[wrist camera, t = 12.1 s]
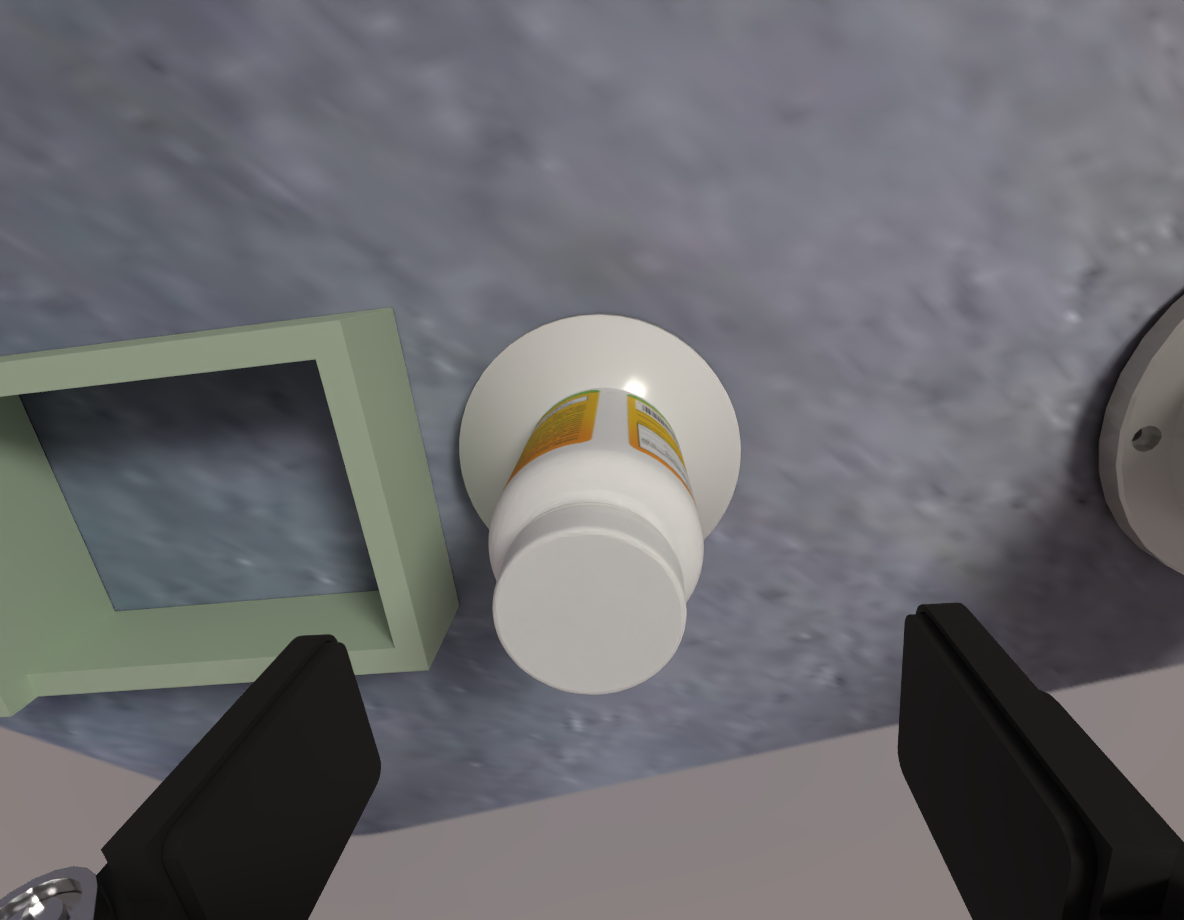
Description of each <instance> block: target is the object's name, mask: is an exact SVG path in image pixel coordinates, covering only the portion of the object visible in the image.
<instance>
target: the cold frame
mask: <svg viewBox="0 0 1184 920" xmlns="http://www.w3.org/2000/svg"><path fill="white" fill-rule="evenodd" d="M314 359H316V362H317V366H318V369H319V373H320V377H321V380H322V384H323V388H324V391H325V395H326V398H327V402H328V406H329V409H330V413H331V417H332V420H333V424H334V428H335V431H336V435H337V439H338V442H339V446H340V450H341V453H342V457H343V461H344V464H345V468H346V472H347V475H348V479H349V482H350V486H351V490H352V493H353V497H354V501H355V504H356V508H357V512H358V515H359V519H360V523H361V526H362V530H363V534H364V537H365V541H366V545H367V548H368V552H369V555H370V559H371V563H372V566H373V570H374V574H375V577H376V581H377V585H378V588H379V590H378V591H365V592H353V593H340V594H328V595H316V596H303V597H291V598H278V599H266V600H254V601H241V602H229V603H216V604H204V605H191V606H179V607H167V608H154V609H142V610H129V611H117V612H115V611H114V608H113V606H112V604H111V602H110V599H109V597H108V595H107V593H106V590H105V588H104V586H103V584H102V581H101V579H100V577H99V575H98V572H97V570H96V568H95V566H94V563H93V561H92V559H91V557H90V554H89V552H88V550H87V548H86V545H85V543H84V541H83V539H82V536H81V534H80V532H79V530H78V528H77V525H76V523H75V521H74V519H73V516H72V514H71V512H70V510H69V507H68V505H67V503H66V501H65V498H64V496H63V494H62V492H61V489H60V487H59V485H58V483H57V480H56V478H55V476H54V474H53V471H52V469H51V467H50V465H49V462H48V460H47V458H46V456H45V453H44V451H43V449H42V447H41V444H40V442H39V440H38V438H37V435H36V433H35V431H34V429H33V426H32V424H31V422H30V420H29V418H28V415H27V413H26V411H25V409H24V406H23V404H22V402H21V400H20V397H19V394H27V393H35V392H44V391H52V390H61V389H69V388H78V387H86V386H94V385H103V384H111V383H120V382H128V381H137V380H145V379H154V378H162V377H170V376H179V375H187V374H196V373H204V372H213V371H221V370H229V369H238V368H246V367H255V366H263V365H272V364H280V363H288V362H297V361H305V360H314ZM458 607H459V601H458V597H457V593H456V588H455V584H454V579H453V575H452V570H451V566H450V562H449V557H448V553H447V548H446V544H445V539H444V535H443V531H442V526H441V522H440V517H439V513H438V508H437V504H436V500H435V495H434V491H433V486H432V482H431V477H430V473H429V469H428V464H427V460H426V455H425V451H424V446H423V442H422V437H421V433H420V429H419V424H418V420H417V415H416V411H415V406H414V402H413V398H412V393H411V389H410V384H409V380H408V375H407V371H406V367H405V362H404V358H403V353H402V349H401V344H400V340H399V336H398V331H397V327H396V322H395V318H394V313H393V309H392V307H390V308H382V309H374V310H366V311H358V312H350V313H342V314H334V315H326V316H318V317H311V318H303V319H295V320H287V321H279V322H271V323H263V324H255V325H247V326H239V327H231V328H223V329H215V330H207V331H199V332H191V333H183V334H175V335H167V336H159V337H151V338H143V339H135V340H127V341H119V342H111V343H103V344H95V345H87V346H79V347H71V348H63V349H55V350H47V351H39V352H31V353H23V354H15V355H8V356H0V717H10V716H13V715H14V714H16V713H17V712H18V711H20V710H21V709H22V708H24V707H25V706H26V705H27V704H29V703H30V702H31V701H33V700H34V699H35V698H37V697H38V696H52V695H67V694H82V693H97V692H112V691H127V690H142V689H157V688H171V687H186V686H201V685H216V684H231V683H246V682H254V681H255V680H256V679H257V678H258V677H259V676H260V675H261V674H262V673H263V672H264V671H265V669H266V668H267V667H268V666H269V665H270V664H271V663H272V662H273V661H274V660H275V658H276V657H277V656H278V655H279V654H280V653H281V652H282V651H283V650H284V649H285V648H286V646H287V645H288V644H289V643H290V642H291V641H292V640H293V639H294V638H296V637H298V636H301V635H321V634H330V635H333V636H334V637H335V638H336V639H337V641H338V642H341V643H343V644H344V645H345V646H346V649H347V652H348V655H349V658H350V661H351V665H352V668H353V671H354V675H365V674H380V673H394V672H409V671H424V670H429V669H430V667H431V665H432V663H433V661H434V659H435V656H436V654H437V652H438V650H439V648H440V646H441V644H442V642H443V639H444V637H445V635H446V633H447V631H448V629H449V627H450V624H451V622H452V620H453V618H454V616H455V614H456V612H457V610H458Z"/></svg>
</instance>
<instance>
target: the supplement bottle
mask: <svg viewBox="0 0 1184 920" xmlns="http://www.w3.org/2000/svg"><path fill="white" fill-rule="evenodd" d="M488 546H489V557H490V562H491V567H492V570H493V573H494V576H495V579H496V581H497V583H496V586H495V589H494V594H493V603H492V611H493V620H494V626H495V629H496V632H497V635H498V637H499V640H500V642H501V644H502V645H503V647H504V649H505V651H506V652H507V653H508V655H509V656H510V657H511V659H512V660H513V661H514V662H515V663H516V664H517V665H518V666H519V667H520V668H521V669H523V670H524V671H525V672H526V673H527V674H529V675H530V676H532V677H533V678H535V679H536V680H538V681H540V682H542V683H544V684H546V685H549V686H551V687H554V688H556V689H559V690H562V691H567V692H571V693H576V694H590V695H595V694H607V693H613V692H618V691H622V690H626V689H628V688H631V687H634V686H636V685H638V684H640V683H642V682H644V681H646V680H647V679H649V678H650V677H652V676H653V675H655V674H656V673H657V672H658V671H659V670H661V669H662V668H663V667H664V666H665V665H666V664H667V663H668V661H669V660H670V659H671V658H672V656H673V655H674V653H675V651H676V650H677V648H678V646H679V644H680V642H681V639H682V637H683V634H684V629H685V625H686V615H687V612H686V602H687V601H688V599H689V598H690V596H691V594H692V593H693V590H694V588H695V586H696V584H697V582H698V579H699V576H700V573H701V568H702V563H703V552H704V543H703V534H702V528H701V522H700V518H699V514H698V510H697V506H696V503H695V500H694V496H693V493H692V489H691V485H690V481H689V478H688V474H687V471H686V467H685V464H684V460H683V457H682V453H681V449H680V446H679V443H678V440H677V438H676V435H675V433H674V431H673V429H672V427H671V425H670V424H669V422H668V421H667V419H666V418H665V417H664V415H663V414H662V413H661V412H660V411H659V410H658V409H657V408H656V407H655V406H653V405H652V404H651V403H650V402H648V401H647V400H645V399H643V398H642V397H640V396H638V395H636V394H633V393H631V392H628V391H625V390H620V389H615V388H592V389H587V390H583V391H579V392H576V393H574V394H571V395H569V396H567V397H565V398H563V399H562V400H560V401H558V402H557V403H556V404H554V405H553V406H552V407H551V408H550V409H549V410H548V411H547V412H546V413H545V414H544V415H543V416H542V418H541V419H540V420H539V422H538V423H537V425H536V426H535V428H534V430H533V432H532V434H531V436H530V437H529V440H528V442H527V444H526V446H525V448H524V450H523V452H522V454H521V456H520V458H519V460H518V462H517V464H516V466H515V468H514V470H513V472H512V474H511V476H510V478H509V480H508V482H507V483H506V485H505V487H504V489H503V491H502V494H501V496H500V498H499V500H498V502H497V505H496V508H495V511H494V513H493V516H492V520H491V524H490V530H489V542H488Z"/></svg>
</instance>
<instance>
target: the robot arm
mask: <svg viewBox="0 0 1184 920" xmlns="http://www.w3.org/2000/svg"><path fill="white" fill-rule="evenodd" d="M1099 476H1100V480H1101V484H1102V488H1103V492H1104V496H1105V501H1106V503H1107V505H1108V507H1109V509H1110V511H1111V512H1112V514H1113V516H1114V518H1115V520H1116V522H1117V524H1118V526H1119V527H1120V528H1121V529H1122V530H1123V531H1124V532H1125V534H1126V535H1127V536H1128V537H1129V538H1130V539H1131V540H1132V541H1133V542H1134V543H1135V544H1136V545H1137V547H1139V548H1140V549H1142V550H1143V551H1145V552H1146V553H1148V554H1149V555H1151V556H1152V557H1154V558H1155V559H1157V560H1158V561H1160V562H1161V563H1163V564H1165V565H1166V566H1168V567H1170V568H1172V569H1174V570H1175V571H1177V572H1179V573H1181V574H1183V575H1184V295H1183V296H1181V297H1180V298H1179V299H1178V300H1177V301H1176V302H1175V303H1173V304H1172V305H1171V306H1170V308H1169V309H1168V310H1167V311H1166V312H1165V313H1164V314H1163V316H1162V317H1161V318H1160V319H1159V320H1158V321H1157V323H1156V324H1155V325H1154V326H1153V327H1152V328H1151V329H1150V331H1149V332H1148V333H1147V334H1146V335H1145V336H1144V337H1143V339H1142V340H1141V342H1140V344H1139V345H1138V347H1137V348H1136V350H1135V351H1134V353H1133V355H1132V356H1131V358H1130V359H1129V361H1128V363H1127V364H1126V366H1125V367H1124V369H1123V370H1122V372H1121V374H1120V376H1119V379H1118V381H1117V383H1116V386H1115V388H1114V391H1113V393H1112V395H1111V398H1110V400H1109V402H1108V405H1107V407H1106V411H1105V416H1104V420H1103V425H1102V430H1101V434H1100V439H1099ZM898 757H899V762H900V766H901V770H902V772H903V775H904V777H905V779H906V781H907V784H908V785H909V788H910V790H911V792H912V794H913V796H914V798H915V800H916V802H917V804H918V807H919V809H920V811H921V813H922V815H923V817H924V819H925V821H926V823H927V825H928V827H929V830H930V831H931V834H932V836H933V838H934V840H935V842H936V844H937V846H938V848H939V850H940V853H941V854H942V856H943V859H944V861H945V863H946V865H947V867H948V869H949V871H950V873H951V876H952V878H953V880H954V882H955V884H956V886H957V888H958V890H959V892H960V894H961V896H962V899H963V901H964V903H965V905H966V907H967V909H968V911H969V913H970V915H971V917H972V919H973V920H1184V842H1183V841H1182V840H1181V839H1180V837H1179V836H1178V835H1177V834H1176V833H1175V832H1174V831H1173V830H1172V829H1171V828H1170V827H1169V825H1168V824H1167V823H1166V822H1165V821H1164V820H1163V818H1162V817H1161V816H1160V815H1159V814H1158V813H1157V812H1156V811H1155V810H1154V808H1153V807H1152V806H1151V805H1150V804H1149V803H1148V802H1147V801H1146V800H1145V798H1144V797H1143V796H1142V795H1141V794H1140V793H1139V792H1138V791H1137V790H1136V789H1135V787H1134V786H1133V785H1132V784H1131V783H1130V782H1129V781H1128V779H1127V778H1126V777H1125V776H1124V775H1123V774H1122V773H1121V772H1120V770H1119V769H1118V768H1117V767H1116V766H1115V765H1114V764H1113V763H1112V762H1111V761H1110V759H1109V758H1108V757H1107V756H1106V755H1105V754H1104V753H1103V752H1102V751H1101V749H1100V748H1099V747H1098V746H1097V745H1096V744H1095V743H1094V741H1093V740H1092V739H1091V738H1090V737H1089V736H1088V735H1087V734H1086V733H1085V731H1084V730H1083V729H1082V728H1081V727H1080V726H1079V725H1078V724H1077V723H1076V721H1074V719H1073V718H1072V717H1071V716H1070V715H1069V714H1068V712H1067V711H1066V710H1065V709H1064V708H1063V707H1062V706H1061V705H1060V704H1059V702H1058V701H1056V700H1055V699H1054V698H1053V697H1052V696H1051V695H1050V694H1048V693H1045V692H1043V691H1041V690H1038V689H1037V687H1036V686H1035V685H1034V684H1033V683H1032V682H1031V681H1030V679H1029V678H1028V677H1027V676H1026V675H1025V674H1024V673H1023V671H1022V670H1021V669H1020V668H1019V667H1018V666H1017V665H1016V663H1015V662H1014V661H1013V660H1012V659H1011V658H1010V657H1009V655H1008V654H1007V653H1006V652H1005V651H1004V650H1003V649H1002V647H1001V646H1000V645H999V644H998V643H997V642H996V641H995V639H994V638H993V637H992V636H991V635H990V634H989V633H988V631H987V630H986V629H985V628H984V627H983V626H982V625H981V623H980V622H979V621H978V620H977V619H976V618H975V617H974V615H973V614H972V613H971V612H970V611H969V610H968V609H967V608H966V607H965V606H964V605H963V604H961V603H941V604H921V605H920V606H918V608H917V611H916V614H913V615H908V616H907V617H906V619H905V628H904V646H903V663H902V681H901V699H900V717H899V735H898ZM380 772H381V761H380V757H379V753H378V750H377V747H376V744H375V740H374V737H373V734H372V730H371V727H370V724H369V721H368V717H367V714H366V711H365V707H364V704H363V701H362V698H361V694H360V691H359V688H358V684H357V681H356V678H355V675H354V671H353V668H352V665H351V661H350V658H349V655H348V652H347V649H346V646H345V645H344V644H343V643H341V642H338V641H337V639H336V638H335V637H334V636H333V635H330V634H321V635H301V636H298V637H296V638H294V639H293V640H292V641H291V642H290V643H289V644H288V645H287V646H286V648H285V649H284V650H283V651H282V652H281V653H280V654H279V655H278V656H277V657H276V658H275V660H274V661H273V662H272V663H271V664H270V665H269V666H268V667H267V668H266V669H265V671H264V672H263V673H262V674H261V675H260V676H259V677H258V678H257V679H256V680H255V681H254V683H253V684H252V685H251V686H250V687H249V688H248V689H247V690H246V691H245V692H244V693H243V695H242V696H241V697H240V698H239V699H238V700H237V701H236V702H235V703H234V704H233V706H232V707H231V708H230V709H229V710H228V711H227V712H226V713H225V714H224V715H223V716H222V718H221V719H220V720H219V721H218V722H217V723H216V724H215V725H214V726H213V727H212V728H211V730H210V731H209V732H208V733H207V734H206V735H205V736H204V737H203V738H202V739H201V740H200V742H199V743H198V744H197V745H196V746H195V747H194V748H193V749H192V750H191V751H190V753H189V754H188V755H187V756H186V757H185V758H184V759H183V760H182V761H181V762H180V763H179V765H178V766H177V767H176V768H175V769H174V770H173V771H172V772H171V773H170V774H169V775H168V777H167V778H166V779H165V780H164V781H163V782H162V783H161V784H160V785H159V786H158V788H157V789H156V790H155V791H154V792H153V793H152V794H151V795H150V796H149V797H148V798H147V800H146V801H145V802H144V803H143V804H142V805H141V806H140V807H139V808H138V809H137V810H136V812H135V813H134V814H133V815H132V816H131V817H130V818H129V819H128V820H127V821H126V823H125V824H124V825H123V826H122V827H121V828H120V829H119V830H118V831H117V832H116V834H115V835H114V836H113V837H112V838H111V839H110V840H109V841H108V842H107V843H106V844H105V846H104V847H103V848H102V849H101V851H102V853H103V854H104V856H105V858H106V860H107V862H108V863H107V864H106V865H105V866H104V867H103V868H102V870H101V871H100V872H99V873H98V874H97V875H95V874H94V873H93V872H92V871H91V870H89V869H88V868H83V867H75V866H73V867H68V868H64V869H58V870H54V871H52V872H50V873H47V874H45V875H42V876H40V877H37V878H35V879H33V880H31V881H29V882H27V883H26V884H24V885H22V886H21V887H19V888H17V889H16V890H14V891H12V892H10V893H9V894H7V895H6V896H5V897H3V898H2V899H1V900H0V920H308V918H309V916H310V914H311V912H312V910H313V909H314V907H315V904H316V903H317V901H318V899H319V897H320V895H321V893H322V891H323V889H324V887H325V885H326V883H327V881H328V879H329V877H330V875H331V873H332V871H333V869H334V867H335V865H336V864H337V862H338V860H339V858H340V856H341V854H342V852H343V850H344V848H345V846H346V844H347V842H348V840H349V838H350V836H351V834H352V832H353V830H354V828H355V826H356V824H357V822H358V821H359V819H360V817H361V815H362V813H363V811H364V809H365V807H366V805H367V803H368V801H369V799H370V797H371V795H372V793H373V791H374V789H375V787H376V785H377V783H378V780H379V777H380Z"/></svg>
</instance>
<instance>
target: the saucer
mask: <svg viewBox="0 0 1184 920" xmlns="http://www.w3.org/2000/svg"><path fill="white" fill-rule="evenodd" d="M592 388H615V389H620V390H625V391H628V392H631V393H633V394H636V395H638V396H640V397H642V398H643V399H645V400H647V401H648V402H650V403H651V404H652V405H653V406H655V407H656V408H657V409H658V410H659V411H660V412H661V413H662V414H663V415H664V417H665V418H666V419H667V421H668V422H669V424H670V425H671V427H672V429H673V431H674V433H675V435H676V438H677V440H678V443H679V446H680V449H681V453H682V457H683V460H684V464H685V467H686V471H687V474H688V478H689V481H690V485H691V489H692V493H693V496H694V500H695V503H696V506H697V510H698V514H699V518H700V522H701V528H702V534H703V541H704V540H705V539H706V538H707V536H708V535H709V534H710V533H711V532H712V531H713V529H714V528H715V527H716V525H717V524H718V522H719V521H720V519H721V518H722V516H723V515H724V513H725V511H726V509H727V507H728V505H729V503H730V500H731V498H732V496H733V493H734V489H735V486H736V483H737V479H738V473H739V468H740V453H741V444H740V435H739V427H738V423H737V420H736V416H735V412H734V409H733V406H732V404H731V402H730V399H729V397H728V394H727V392H726V391H725V389H724V387H723V386H722V384H721V382H720V381H719V379H718V377H717V376H716V374H715V373H714V372H713V370H712V369H711V368H710V367H709V365H708V364H707V363H706V362H705V360H704V359H703V358H702V357H701V356H700V355H699V354H698V353H697V352H696V351H695V350H693V349H692V348H691V347H690V346H689V345H688V344H687V343H685V342H684V341H682V340H681V339H680V338H678V337H677V336H675V335H674V334H672V333H670V332H668V331H666V330H665V329H663V328H661V327H659V326H657V325H654V324H651V323H649V322H646V321H643V320H641V319H637V318H632V317H628V316H623V315H616V314H604V313H596V314H581V315H575V316H570V317H565V318H561V319H558V320H555V321H552V322H549V323H546V324H544V325H542V326H540V327H538V328H536V329H534V330H532V331H530V332H528V333H526V334H525V335H523V336H522V337H521V338H519V339H518V340H516V341H515V342H513V343H512V344H511V345H510V346H508V347H507V348H506V349H505V350H504V351H503V352H502V353H501V354H500V355H498V356H497V357H496V358H495V359H494V360H493V362H492V363H491V364H490V365H489V366H488V368H487V369H486V370H485V371H484V372H483V374H482V376H481V377H480V379H479V380H478V382H477V384H476V385H475V387H474V389H473V391H472V393H471V395H470V398H469V400H468V402H467V404H466V408H465V411H464V415H463V419H462V423H461V430H460V437H459V457H460V464H461V472H462V476H463V480H464V483H465V487H466V490H467V492H468V495H469V497H470V499H471V502H472V504H473V506H474V508H475V510H476V511H477V513H478V515H479V516H480V518H481V520H482V521H483V522H484V524H485V525H486V526H487V528H488V529H489V530H490V524H491V520H492V516H493V513H494V511H495V508H496V505H497V502H498V500H499V498H500V496H501V494H502V491H503V489H504V487H505V485H506V483H507V482H508V480H509V478H510V476H511V474H512V472H513V470H514V468H515V466H516V464H517V462H518V460H519V458H520V456H521V454H522V452H523V450H524V448H525V446H526V444H527V442H528V440H529V437H530V436H531V434H532V432H533V430H534V428H535V426H536V425H537V423H538V422H539V420H540V419H541V418H542V416H543V415H544V414H545V413H546V412H547V411H548V410H549V409H550V408H551V407H552V406H553V405H554V404H556V403H557V402H558V401H560V400H562V399H563V398H565V397H567V396H569V395H571V394H574V393H576V392H579V391H583V390H587V389H592Z"/></svg>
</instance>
